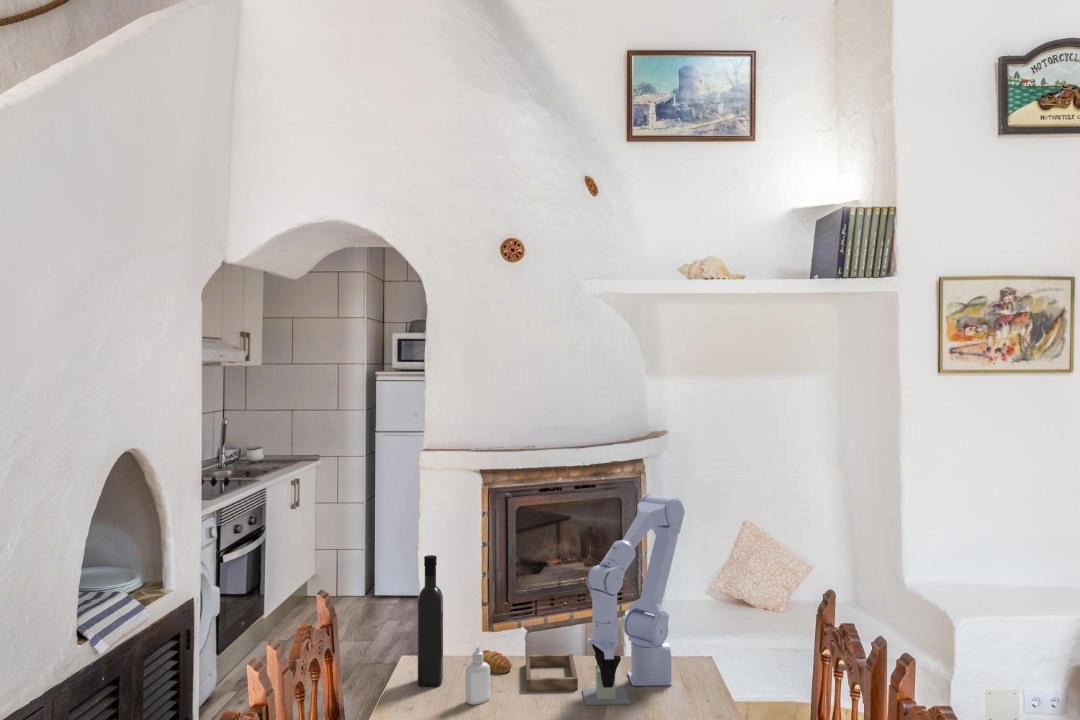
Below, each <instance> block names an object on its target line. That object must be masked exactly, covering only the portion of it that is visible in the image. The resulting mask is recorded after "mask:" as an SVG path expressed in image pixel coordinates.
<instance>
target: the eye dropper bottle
mask: <svg viewBox="0 0 1080 720" xmlns="http://www.w3.org/2000/svg"><path fill="white" fill-rule="evenodd" d="M480 647H481V646H476V647H475V651H474V652H472V663H471V664H469V665H468V666H467V667H466V668H465V702H466V703H467V704H469V705H471V706H472V705H474V706H475V705H480V704H484V703H486V702H488V701H489V700H490V699H491V672H490V666H489V664H487V663H485V662H483V652H482V650H481V649H480Z"/></svg>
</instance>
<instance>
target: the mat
mask: <svg viewBox="0 0 1080 720" xmlns="http://www.w3.org/2000/svg"><path fill="white" fill-rule="evenodd" d="M581 691H582V695H583V699H584V705H585V706H605V705H607V706H610V705H612V706H613V705H615V706H616V705H617V706H618V705H631V701H630V699H629V698H630V697H629V694H628V693H627V690H626V687H615V699H597V694H596V687H594V688H582V689H581Z"/></svg>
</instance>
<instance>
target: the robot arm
mask: <svg viewBox="0 0 1080 720" xmlns="http://www.w3.org/2000/svg"><path fill="white" fill-rule="evenodd" d="M636 508H637V509H636V510H637V514H636V517H634V520H633V521H632V523H631V525H630V527H629V528H628V530H627V532H626V533H625V535H624V537H623V539H621V540H615V542H613V544H612V545H611V547H610V549H609V550H608V552H607V553H606V555H605V556H603V559H602V560H601V561H600V563H599V564H597V565H595V566H593V567H591V568H590V570H589V571H588V574H587V578H586V579H585V580H586V586H587V587H588V590H589V596H590V598H591V601H592V606H591V607H592V610H591V611H592V613H591V614H592V618H591V619H592V637H588V638H587V644H589V645H591V647H592V649H593V650H594V658H595V661H596V664H597V665H599V668H600V673H601V679H602V684H603V687H604V688H611V687H613V684H614V678H615V679H616V672H617V668H618V666H619V664H620V662H621V660H622V658H621V655H615V653H614V651H615V650H616V648H617V647H618V645H619V644H620V643H619V638H618V635H619V634H618V632H619V631H618V629H619V628H618V624H619V623H618V593H619V591H621V589H622V587H623V584H624V578H625V576H626V575H625V573H626V571H627V570H628V568H629V567H630V565H631V563H632V562H633V561H634V559H635V558H636V554H637V553H636V550H635V549H636V547H637V546H638V545H639V544H640V543H641V541H642V540H643V539H644V538H645V536H647V534H648V533H649V531H650V530H651V531H653V533H654V534H655V539H654V544H653V545H652V550H651V555H650V558H649V563H648V567H647V570H646V575H645V578H644V582H643V587H642V590H641V595H640V598H638V599H636V600H634V601H633V602H632V603H631V604H630V605H629V610H628V612H627V614H626V615H625V617H624V620H623V632H624V633H625V635H626V636H628V642H630V663H631V664H630V665H631V666H630V669H631V671H629V670H628V671H627V675H628V677H629V681H630V683H631V685H632V686H634V687H641V686H643V687H645V686H673V682H672V681H673V679H672V678H673V677H672V676H673V675H672V652H671V645H670V642H668V641H666V640H667V639H668V635H669V620H670V614H669V613H668V611H667V609H666V608H665V607H664V605H663V601H664V597H665V593H666V588H667V585H668V580H669V577H670V572H671V568H672V563H673V561H674V560H673V559H674V556H675V551H676V547H677V543H678V537H679V534H680V533H681V530H682V525H683V520H684V517H685V513H686V512H685V508H684V505H683V503H682V500H681V499H680V498H678V497H670V496H662V495H661V496H660V495H653V494H651V493H647V494H644V495H643V496H642V497H641V498H640V501H639V503H638V504H637V507H636ZM648 613H649V614H648Z"/></svg>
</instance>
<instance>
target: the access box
mask: <svg viewBox="0 0 1080 720" xmlns="http://www.w3.org/2000/svg"><path fill="white" fill-rule="evenodd" d="M574 659H575V658H574V655H573V653H572V654H571V653H563V654H561V653H560V654H525V682H526V683H525V685H526V686H525V687H526V692H527V691H531V692H532V691H534V692H535V691H572V690H573V691H574V690H575V691H576V690H579V678H578V674H577V669H576V664H575V660H574ZM559 666H560V667H563V666H566V667H569V673H570V677H569V676H568V677H563V676H562V677H561V676H560V677H559V676H558V677H531V667H559Z"/></svg>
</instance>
